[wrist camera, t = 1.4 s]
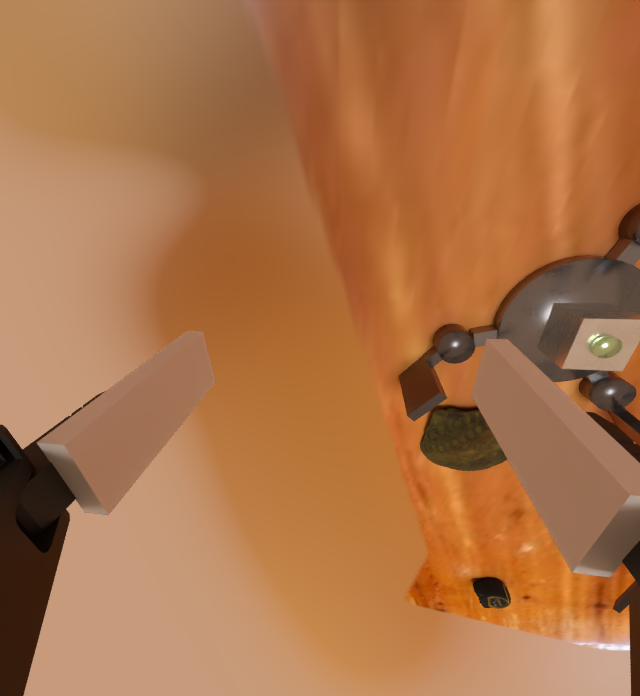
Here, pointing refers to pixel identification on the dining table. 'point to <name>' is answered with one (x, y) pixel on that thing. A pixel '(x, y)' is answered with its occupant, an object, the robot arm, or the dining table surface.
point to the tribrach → (581, 322)
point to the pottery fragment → (461, 441)
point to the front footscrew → (421, 376)
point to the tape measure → (492, 593)
